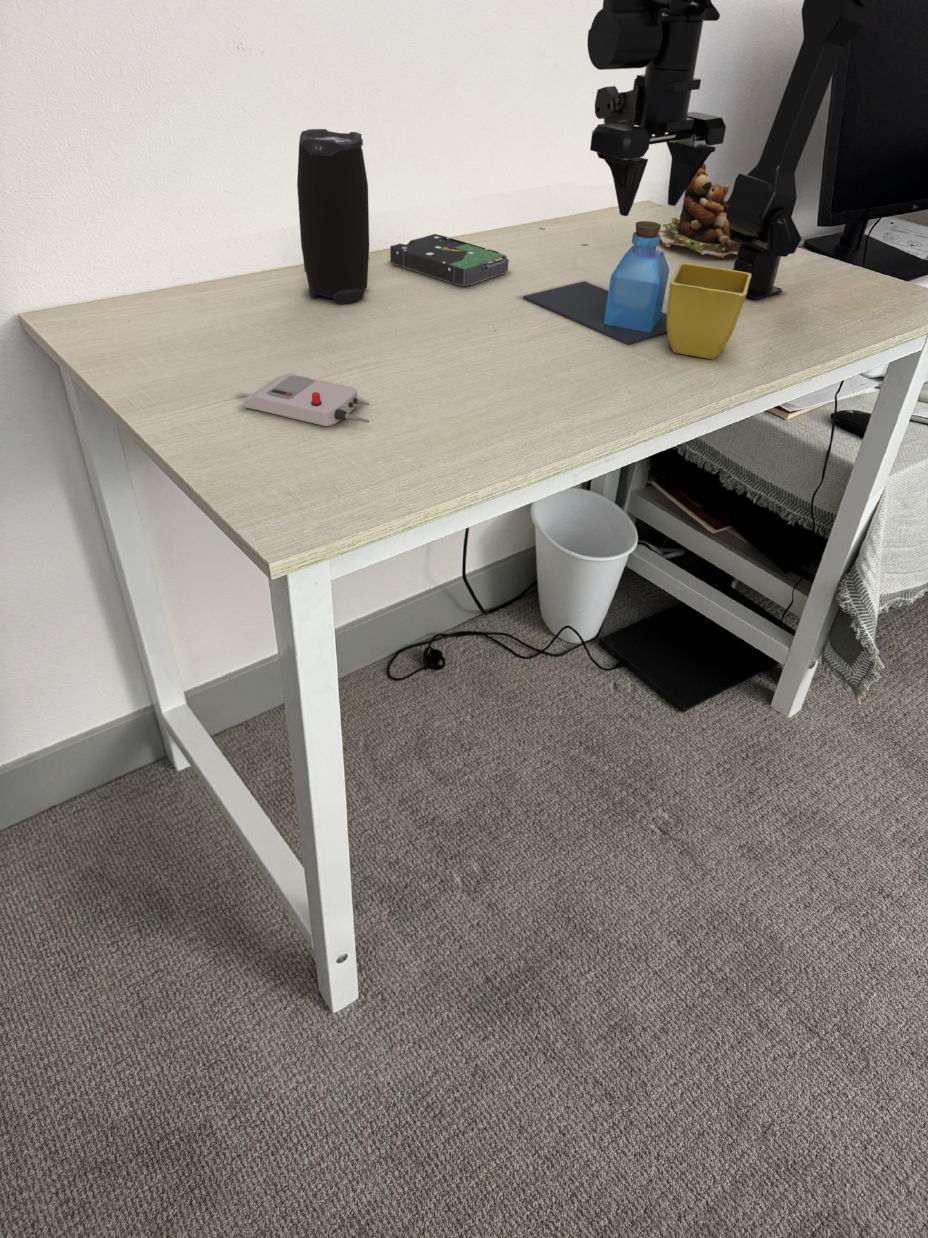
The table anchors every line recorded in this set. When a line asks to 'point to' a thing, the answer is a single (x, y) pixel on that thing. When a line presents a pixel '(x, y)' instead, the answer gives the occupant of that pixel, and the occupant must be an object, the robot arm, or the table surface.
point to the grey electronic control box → (306, 400)
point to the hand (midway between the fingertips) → (648, 209)
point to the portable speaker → (333, 214)
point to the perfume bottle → (638, 282)
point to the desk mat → (591, 310)
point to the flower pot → (704, 308)
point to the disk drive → (449, 259)
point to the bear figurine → (702, 219)
